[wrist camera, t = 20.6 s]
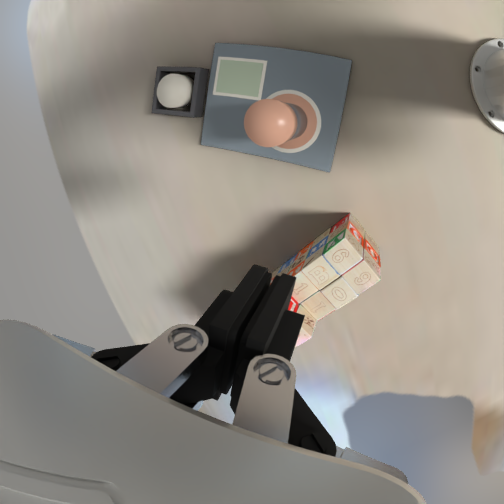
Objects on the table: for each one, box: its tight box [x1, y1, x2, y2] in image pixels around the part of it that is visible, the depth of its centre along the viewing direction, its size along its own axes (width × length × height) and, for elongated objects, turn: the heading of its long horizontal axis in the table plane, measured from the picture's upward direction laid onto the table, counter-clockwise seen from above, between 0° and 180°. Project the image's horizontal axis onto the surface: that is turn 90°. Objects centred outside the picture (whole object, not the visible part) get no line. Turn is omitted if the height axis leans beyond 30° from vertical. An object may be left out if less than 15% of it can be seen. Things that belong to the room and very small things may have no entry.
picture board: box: [201, 43, 352, 173], centre depth 36 cm, size 17×14×1 cm
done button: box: [157, 74, 194, 108], centre depth 37 cm, size 5×5×2 cm
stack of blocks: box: [270, 213, 381, 347], centre depth 39 cm, size 21×6×12 cm, turn 137°
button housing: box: [152, 67, 209, 117], centre depth 38 cm, size 7×7×2 cm
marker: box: [244, 99, 307, 147], centre depth 32 cm, size 5×5×9 cm
